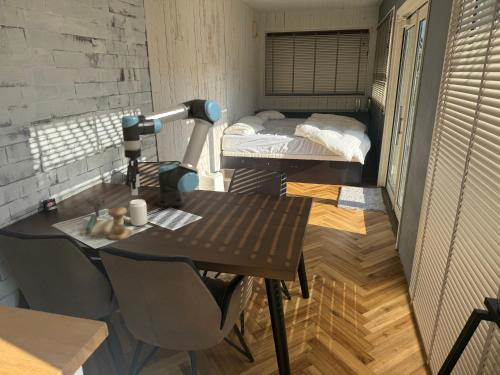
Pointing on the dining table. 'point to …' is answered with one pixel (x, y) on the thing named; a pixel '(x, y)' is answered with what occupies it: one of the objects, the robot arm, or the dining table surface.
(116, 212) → the bobbin
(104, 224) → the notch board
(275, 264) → the dining table surface
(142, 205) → the beverage can
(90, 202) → the mechanical component
